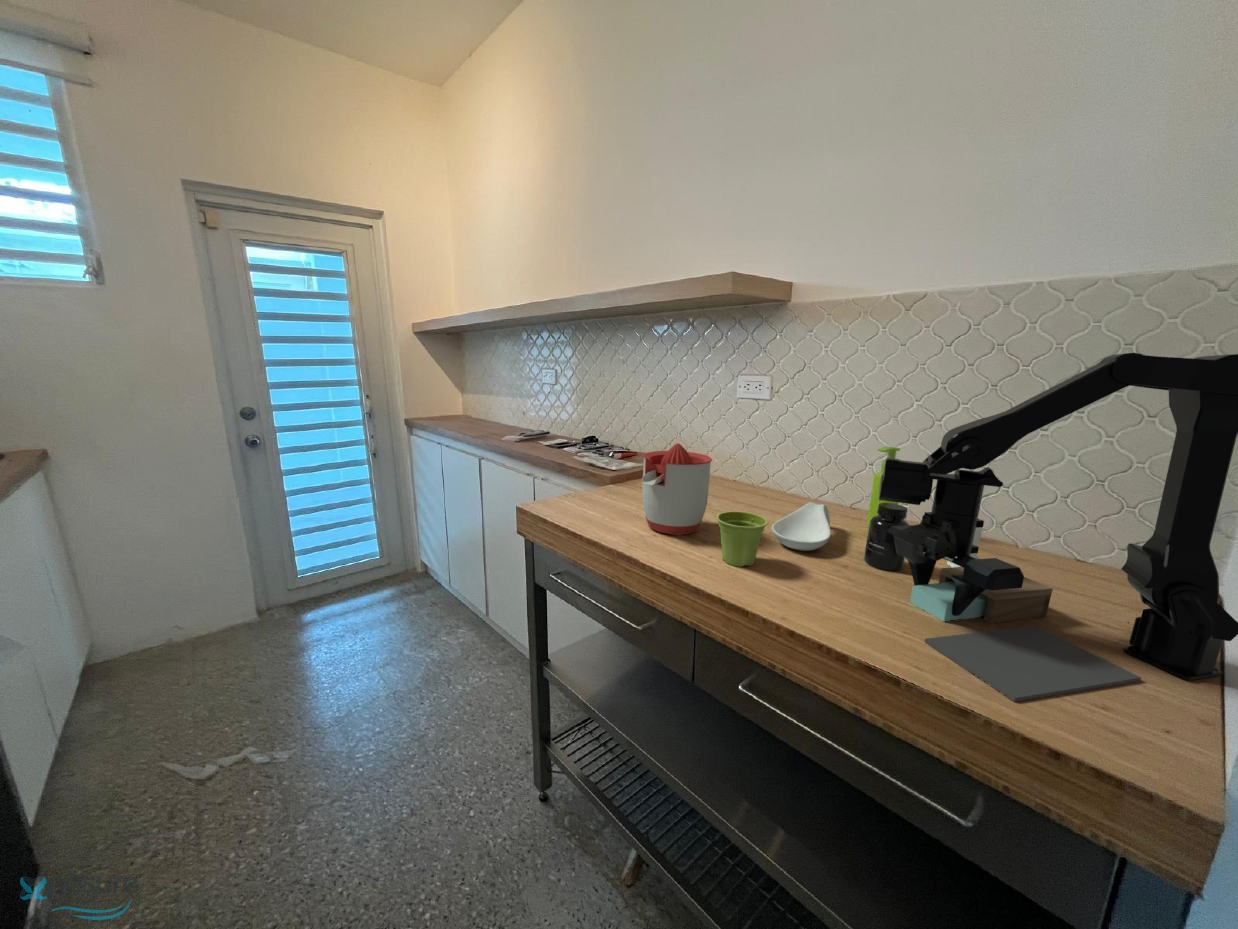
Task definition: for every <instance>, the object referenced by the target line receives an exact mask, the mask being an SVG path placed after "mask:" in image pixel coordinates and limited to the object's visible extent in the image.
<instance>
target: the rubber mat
mask: <svg viewBox="0 0 1238 929" xmlns="http://www.w3.org/2000/svg"><path fill="white" fill-rule="evenodd" d="M923 641H924V643H925V644H926V645H928V646H930V647H931V648H933V649H935V651H937V650H938V651H937V652H939V653H941V654H942V655H943V656H944V657H946V656H947V657H946V658H948V657H949V658H950V659H949V658H948V659H949V660H950V661H952V662H954V661H955V662H954V663H955V664H956V665H958V664H959V665H958V666H959V667H961V668H963V667H964V668H965V669H964V668H963V669H964V670H965V671H967V672H969V671H970V672H971V674H972V673H973V674H975V675H976V676H977V677H976V676H975V675H974V676H975V677H976V678H978V677H979V678H980V679H982V680H981V681H982V682H983V681H985V682H986V683H987V685H988V684H990V685H991V686H992V687H991V686H990V687H991V688H992V689H994V688H995V689H996V690H995V689H994V690H995V691H997V692H998V691H1000V692H1001V693H1003V694H1004V695H1006V696H1005V697H1006V698H1007V697H1008V699H1009V698H1010V699H1009V700H1010V701H1011V702H1013V703H1017V702H1022V701H1027V699H1029V700H1033V699H1032V698H1035V699H1040V698H1045V697H1044V696H1047V697H1052V696H1051V695H1053V696H1057V695H1058V696H1059V695H1065V694H1069V693H1070V692H1071V693H1077V692H1082V691H1088V690H1096V689H1099V688H1100V689H1101V688H1106V687H1113V686H1118V685H1125V684H1131V683H1137V682H1138V683H1139V682H1141V680H1142V677H1141V676H1139V675H1137V674H1135V673H1133V672H1131V671H1129V670H1127V669H1125V668H1123V667H1121V666H1118V665H1117V664H1115V663H1113V662H1112V661H1109V660H1106V659H1105V658H1102V657H1100V656H1099V655H1096V654H1094V653H1093V652H1091V651H1088V650H1086V649H1084V648H1083V647H1080V646H1078V645H1076V644H1075V643H1072V642H1071V641H1068V640H1066V639H1064V638H1062V637H1061V636H1058V635H1056V634H1054V633H1053V632H1050V631H1048V630H1046V629H1044V628H1042V627H1040V626H1038V625H1029V626H1020V627H1013V628H1005V629H1004V628H1003V629H996V630H995V629H994V630H987V631H979V632H972V633H971V632H970V633H962V634H955V635H953V634H952V635H945V636H937V637H936V636H935V637H928V638H925V639H924V640H923ZM970 672H969V673H970ZM973 674H972V675H973ZM979 678H978V679H979ZM980 679H979V680H980ZM985 682H984V683H985ZM986 683H985V684H986ZM1000 692H999V693H1000ZM1001 693H1000V694H1001ZM1003 694H1002V695H1003ZM1004 695H1003V696H1004ZM1038 697H1040V698H1038ZM1021 700H1022V701H1021Z"/></svg>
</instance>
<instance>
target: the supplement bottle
mask: <svg viewBox="0 0 1238 929" xmlns="http://www.w3.org/2000/svg"><path fill="white" fill-rule="evenodd" d="M877 514H878V516H875V517H873V518H872V519H871V520H870V524H869V528H868V531H867V537H866V543H865V549H864V555H863V559H864V562H865V563H866V564H867V565H869V567H873V568H876V569H879V570H881V571H887V572H898V571H900V570H902V569H903V568H904V563H905V560H906V558H905V557H904V556H902V555H901V556H900V555H898V554H897V553H896V547H895V546H893V545H891V544H889V543H887V542H885V537H886V531H887V530H888V529H889V528H890V527H891V526H906V525H910V523H908V522H907V521H906V519H907V514H908V508H907V507H906V506H903V505H901V504H893V503H880V504H879V506H878V510H877Z"/></svg>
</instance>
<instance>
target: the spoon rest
mask: <svg viewBox="0 0 1238 929" xmlns="http://www.w3.org/2000/svg"><path fill="white" fill-rule="evenodd" d="M829 513H830V512H829V508H828V507H827V505H826V504H818V503H815V502H812V501H809V502H808V503H806V504H803V506H801V507H800V508H798V509H796V510H795V511H793V512H792V513H789V514H787V515H786V516H784V517H782V518H780V519H778V520H777V521H775V522H774V523H773V524H772V526H771V532H772V534H773V536H774V537H775V539H776V540H778V542H780V544H782V545H783V546H785V547H787V548H788V549H789V548H790V549H792V550H795V551H801V552H808V551H814V550H818V549H820V548H822V547H824V545H826V544H827V543H828V542H829V541H830V538H831V536H832V535H831V534H832V531H831V527H830V525H831V524H830V522H831V520H830V519H831V518H830V514H829Z"/></svg>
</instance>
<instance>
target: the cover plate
mask: <svg viewBox="0 0 1238 929" xmlns="http://www.w3.org/2000/svg"><path fill="white" fill-rule="evenodd" d="M955 589H956V583H955V582H954V581H953V582H944V583H939V582H936V583H929V584H925V585H916V586H915V585H912V589H911V594H910V601H909V604H911V603H912V604H911V605H913V606H915V607H916V606H917V607H916V608H918V607H919V608H918V609H920V610H922V609H923V610H925V611H926V612H925V611H924V612H925V613H927V612H928V613H927V614H929V613H931V614H932V615H933V616H932V615H931V616H932V617H934V616H936V617H937V618H939V619H941V620H942V621H941V620H940V621H941V622H943V621H944V622H943V623H946V622H945V621H948V622H951V621H950V620H956V621H958V620H957V619H963V620H970V619H969V618H971V619H975V618H974V617H978V618H981V617H980V616H985V611H986V606H987V602H988V597H987V596H985V595H983V594H980V595H979V596H978V597H977V598H976V599H975V600H974V601H973V602H972V603H971V604H970V605H969V606H968V607H967V608H966V609H965V610H964V611H963V612H962V613H961V614H960V615H959V616H954V615H952V605H953V599H954V594H955ZM923 610H922V611H923ZM936 617H935V618H936ZM937 618H936V619H937ZM939 619H938V620H939Z"/></svg>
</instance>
